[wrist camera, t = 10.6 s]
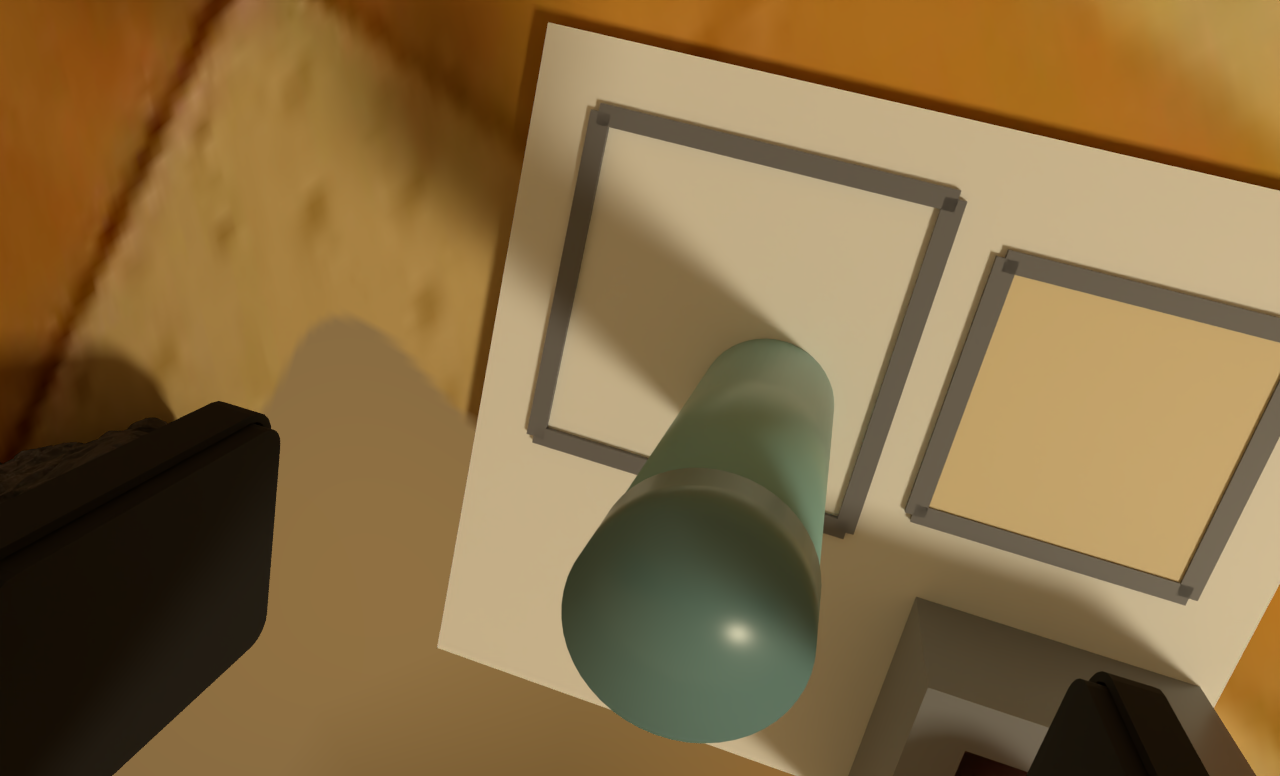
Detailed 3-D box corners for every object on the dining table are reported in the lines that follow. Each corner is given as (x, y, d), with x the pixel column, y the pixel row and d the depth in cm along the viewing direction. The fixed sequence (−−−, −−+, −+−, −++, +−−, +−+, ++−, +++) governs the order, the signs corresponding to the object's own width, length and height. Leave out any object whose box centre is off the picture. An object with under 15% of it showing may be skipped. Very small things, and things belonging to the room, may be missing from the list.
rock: (-61, 349, 21) (-241, 783, 19) (280, 442, 27) (175, 792, 24) (-79, 385, 30) (-202, 683, 28) (179, 449, 36) (94, 705, 33)
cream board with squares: (556, 24, 21) (545, 21, 21) (1447, 230, 18) (1470, 234, 18) (445, 637, 27) (434, 650, 26) (1110, 872, 24) (1118, 895, 23)
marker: (716, 320, 22) (589, 477, 12) (853, 358, 21) (850, 559, 11) (683, 447, 23) (540, 693, 13) (813, 486, 22) (775, 777, 12)
